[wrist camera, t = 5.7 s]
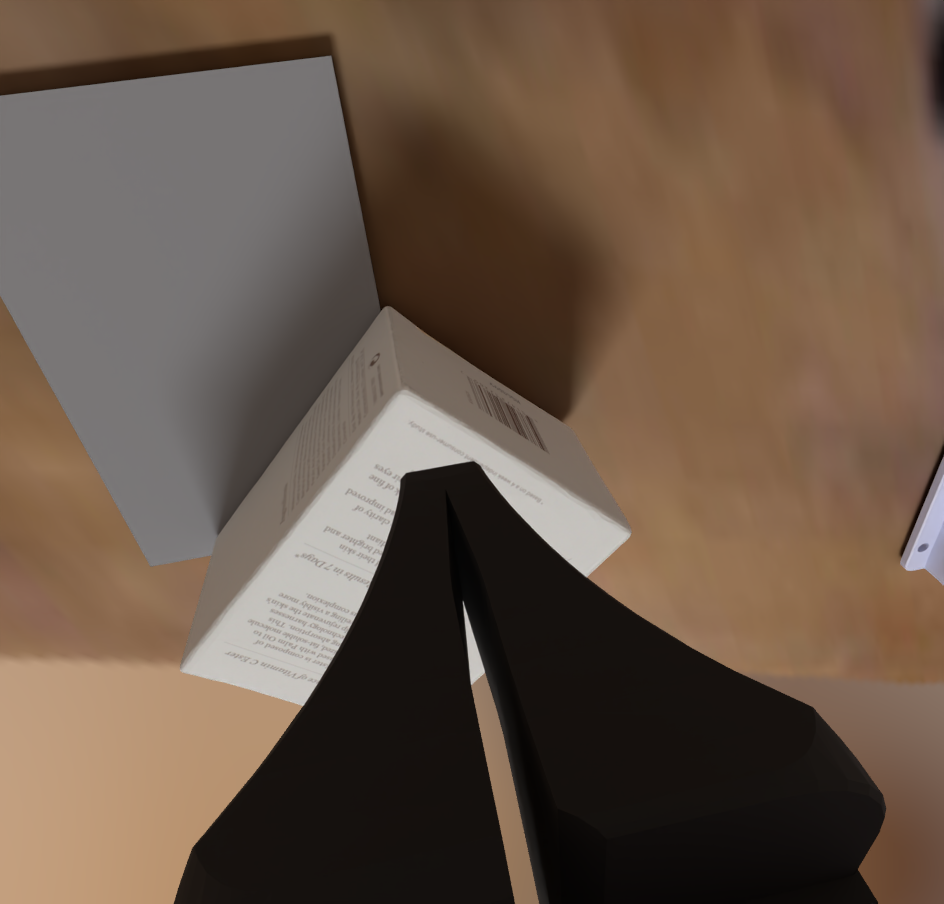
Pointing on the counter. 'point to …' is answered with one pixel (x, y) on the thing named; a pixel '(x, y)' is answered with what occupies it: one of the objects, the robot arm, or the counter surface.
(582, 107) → the counter surface
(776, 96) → the counter surface
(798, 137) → the counter surface
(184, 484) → the gray mat
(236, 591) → the small box
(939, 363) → the counter surface
